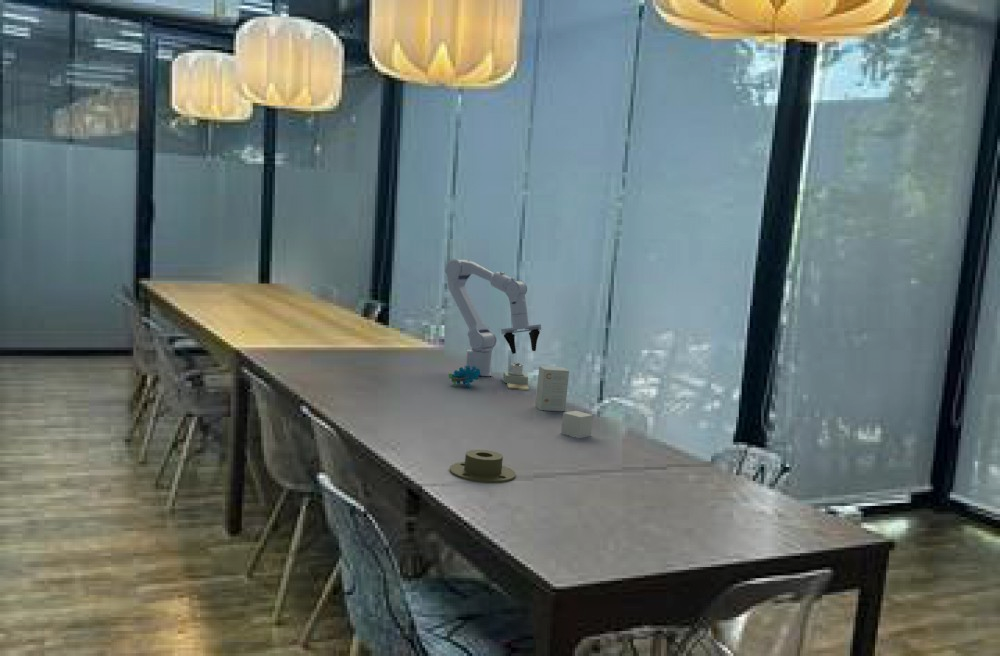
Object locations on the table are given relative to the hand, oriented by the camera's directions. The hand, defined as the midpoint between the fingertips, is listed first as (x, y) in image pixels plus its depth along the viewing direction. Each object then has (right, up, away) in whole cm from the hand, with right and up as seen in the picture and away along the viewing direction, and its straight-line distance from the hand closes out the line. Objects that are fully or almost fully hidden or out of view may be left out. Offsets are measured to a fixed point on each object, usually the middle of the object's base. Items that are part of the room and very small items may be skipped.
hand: (524, 352), depth 324 cm
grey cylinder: (-3, -11, 0) cm, 11 cm away
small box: (+7, -17, -39) cm, 44 cm away
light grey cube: (+13, -21, -71) cm, 75 cm away
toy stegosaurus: (-21, -11, -15) cm, 28 cm away
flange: (-13, -25, -118) cm, 121 cm away
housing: (-3, -11, 0) cm, 11 cm away
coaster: (-2, -12, -9) cm, 15 cm away
